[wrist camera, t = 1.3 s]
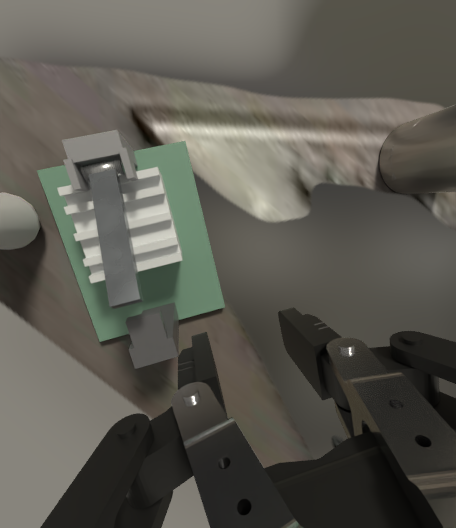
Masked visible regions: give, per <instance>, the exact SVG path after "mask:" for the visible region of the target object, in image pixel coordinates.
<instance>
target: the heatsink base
mask: <svg viewBox="0 0 456 528" xmlns="http://www.w3.org/2000/svg"><path fill="white" fill-rule="evenodd" d="M62 142H63V145H64V148H65V151H66V154H67V157H68V159H65V160H63V161H64V164H65V165H63V166H58V167H53V168H48V169H43V170H38V171H37V172H38V175H39V178H40V180H41V183H42V186H43V189H44V191H45V194H46V197H47V199H48V202H49V205H50V208H51V210H52V213H53V216H54V218H55V221H56V224H57V227H58V229H59V232H60V235H61V238H62V240H63V243H64V246H65V248H66V251H67V254H68V257H69V259H70V262H71V265H72V268H73V270H74V273H75V276H76V278H77V281H78V284H79V287H80V289H81V292H82V295H83V298H84V300H85V303H86V306H87V308H88V311H89V314H90V317H91V319H92V322H93V325H94V327H95V330H96V333H97V336H98V338H99V341H100V342H101V341H105V340H108V339H112V338H115V337H119V336H123V335H126V334H129V331H128V328H127V325H126V323H125V322H126V320H127V318H128V317H132V316H135V315H139V314H141V313H142V311H144V310H147V309H151V308H155V307H159V306H162V305H166V304H170V303H174V302H175V306H176V309H177V313H178V316H179V320H181V319H184V318H188V317H191V316H195V315H199V314H202V313H206V312H209V311H213V310H217V309H220V308H224V307H225V305H224V300H223V296H222V292H221V288H220V284H219V280H218V275H217V271H216V267H215V263H214V259H213V255H212V250H211V247H210V242H209V238H208V234H207V230H206V225H205V221H204V217H203V213H202V209H201V205H200V200H199V196H198V192H197V188H196V184H195V180H194V175H193V171H192V167H191V163H190V159H189V155H188V150H187V146H186V142H185V141H182V142H177V143H172V144H167V145H162V146H157V147H152V148H147V149H143V150H138V151H134V150H133V149H132V147H131V146H130V145H129V144H128V142H127V141H126V140H125V139H124V138H123V136H122V135H121V134H120V133H119V131H118V130H113V131H108V132H103V133H98V134H92V135H87V136H82V137H76V138H71V139H66V140H62ZM119 158H120V160H121V162H122V164H123V167H124V171H125V175H122V176H119V178H120V183H121V188H122V193H123V198H124V203H125V208H126V214H127V219H128V224H129V229H130V234H131V239H132V245H133V250H134V255H135V260H136V265H137V270H138V275H139V281H140V286H141V291H142V296H143V301H142V302H139V303H135V304H131V305H127V306H124V307H120V308H116V309H113V308H111V307H110V306H109V300H108V294H107V287H106V281H105V275H104V268H103V262H102V256H101V249H100V243H99V236H98V230H97V224H96V217H95V211H94V205H93V198H92V192H91V186H90V182H89V183H87V182H86V181H85V180H84V178H83V175H82V172H81V166H84V165H89V164H94V163H99V162H104V161H109V160H114V159H119Z"/></svg>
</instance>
